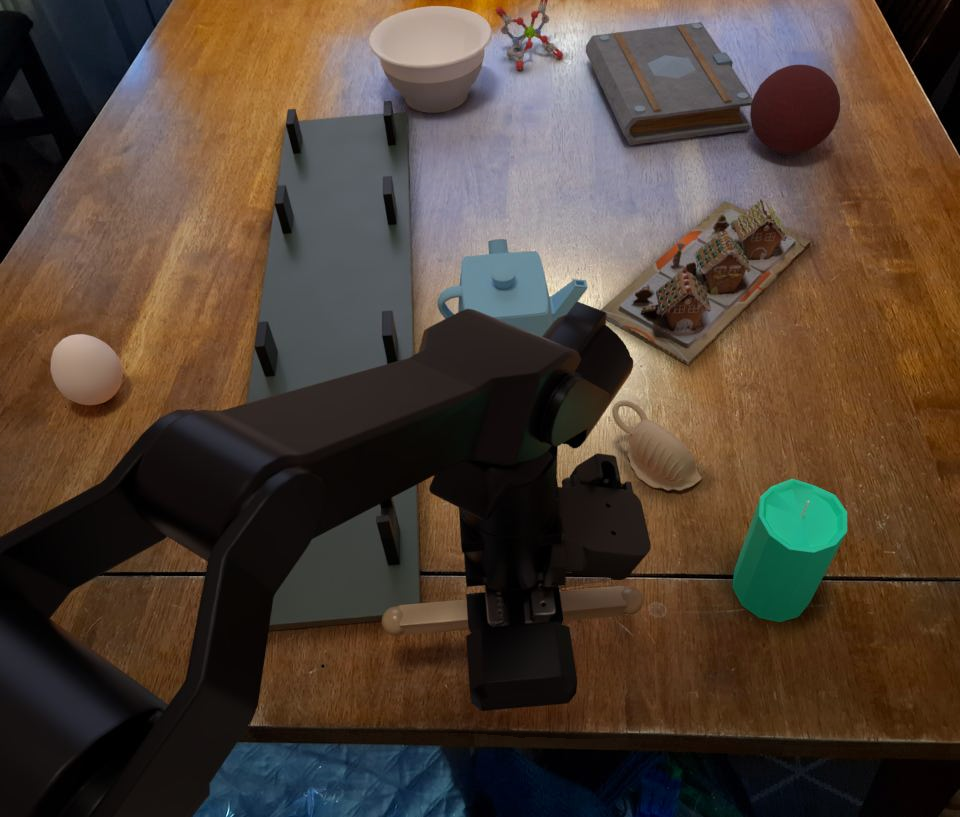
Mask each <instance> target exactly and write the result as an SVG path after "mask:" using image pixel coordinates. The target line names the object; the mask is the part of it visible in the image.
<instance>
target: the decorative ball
mask: <svg viewBox="0 0 960 817" xmlns="http://www.w3.org/2000/svg"><path fill="white" fill-rule="evenodd" d="M752 99H753V101H752V104H751V106H750V113H749V117H750V123H751V124H750V126H751V128H752V130H753V133H754V135H755V137H756V138H757V139H758V140H759V142H760V143H761V144H762V145H763V146H764V147H766V148H767V149H769V150H771V151H773V152H775V153H779V154H784V155H797V154H802V153H805V152H808V151H810V150H812V149H815V148H816V147H817V146H819V145H820V144H822V143H823V142H824V141H825V140H826V139H827V138H828V137H829V136H830V135H831V133H832V132H833V130H834V129H835V127H836V125H837V122H838V121H839V117H840V111H841V97H840V92H839V90H838V87H837V84H836V83H835V82H834V80H833V78H832V77H831V76H830V75H828V74H827V73H826V72H825V71H824V70H822V69H820V68H819V67H816V66H812V65H809V64H791V65H788V66H785V67H782V68H779V69H778V70H777V69H776V71H774V72H772V73H771V74H770V75H768V76H767V77H766V78H765V79H764V80H763V81H762V82H761V84H760V85H759V86H758V88H757V90H756V92H755V93H754V95H753V97H752Z"/></svg>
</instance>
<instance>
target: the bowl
mask: <svg viewBox="0 0 960 817" xmlns="http://www.w3.org/2000/svg"><path fill="white" fill-rule="evenodd" d="M492 35H493V31H492V28H491V25H490V22H488V21H487V19H486V18H485V17H483V16H482V15H480V14H479V13H477V12H474V11H472V10H468V9H465V8H461V7H456V6H445V5H433V6H432V5H429V6H420V7H416V8H415V7H414V8H410V9H406V10H404V11H400V12H397V13H395V14H392V15H390V16H388V17H387V18H385V19H383V20H382V21H380V22H379V23H378V24H377V25H376V26H374V27H373V29H372V31H371V32H370V34H369V38H368V44H369V48H370V50H371V52H372V54H374V55H375V56H376V57H377V58H379V63H380V65H381V68H382V70H383V73H384V75H385V77H386V79H387V80H388V81H389V83H390V84H391V85H392V87H393V89H395V91H397V92H398V93H399V95H401V96H402V97H403V98H404V101H405V104H406V105H407V106H408V107H410V108H411V109H413V110H416V111H417V112H422V113H428V114H429V113H433V114H434V113H443V112H448V111H451V110H454V109H456V108H458V107H459V106H461V105H463V104H464V103H465V102H466V100H467V99H468V97H469V96H468V94H469V92H470V90H471V88H472V87H473V86H474V84H475V82H476V81H477V79H478V76H479V74H480V73H481V70H482V67H483V62H484V58H485V48H486V47H487V46H488V45H489V44H490V41H491V40H492Z"/></svg>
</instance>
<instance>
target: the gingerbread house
mask: <svg viewBox="0 0 960 817" xmlns="http://www.w3.org/2000/svg"><path fill="white" fill-rule="evenodd" d="M811 243H812V240H809V239H808V238H806V237H803V236H801V235H799V234H797V233H794V232H793V231H791V230H789V229H788V228H785V227H784V225H783V224H782V221H781V220H780V218H779V216H778V215H777V214H776V212H775V210H773V208H772V207H771V206H770V205H769V204H768V202H767V201H766V200H765V198H764V197H761V198H760V199H759V201H756V203H755V204H754V205H751V207H750V208H748V210H747V209H743V208H741V207H739V206H737V205H735V204H732V203H730V202H728V201H723V203H722V204H720V205H719V206H718V207H717V208H715V209H714V210H713V211H712V212H711V213H710V214H709V215H707V216H706V218H704V219H702V221H701V222H699V223H698V224H697V225H696V226H695V227H694V228H692V229H691V230H690V231H688V233H686V234H685V235H684V236H683V237H682V238H680V240H678V241H677V242H676V243H675V244H674V245H673V246H672V247H670V248H669V249H668V250H666V252H665V253H663V254H662V255H661V256H660V257H659V258H658V259H656V260H655V261H654V263H652V264H651V265H650V266H649V267H648V268H646V269H645V270H644V271H643V272H642V273H641V274H640V275H639V276H637V277H636V278H635V279H634V280H633V281H632V282H631V283H629V284H628V285H627V286H626V287H625V288H623V290H621V291H620V292H619V293H618V294H616V295H615V297H613V298H612V299H611V300H610V301H609V302H608V303H606V305H604V306H603V307H602V308H601V309H600V310H601V311H604V312H606V313H607V315H606V322H609V323H610V324H612V325H614V326H616V327H618V328H620V329H621V330H623V331H625V332H627V333H628V334H630V335H632V336H634V337H636V338H637V339H639V340H641V341H643V342H645V343H647V344H648V345H650V346H652V347H654V348H655V349H657V350H659V351H661V352H663V353H665V354H666V355H668V356H670V357H671V358H674V359H676V360H677V361H679V362H681V363H682V364H684V365H686V366H691V364H692V363H693V362H694V361H695V360H696V359H697V358H698V357H700V355H701V354H702V353H703V352H704V351H705V350H706V349H707V348H708V347H709V346H710V345H711V344H712V343H713V342H714V341H715V340H716V339H718V337H719V336H721V335H722V333H723V332H725V331H726V329H728V327H729V326H730V325H731V324H732V323H734V322H735V320H737V319H738V318H739V316H741V315H742V313H744V312H745V311H746V309H747V308H749V307H750V306H751V304H753V303H754V302H755V301H756V300H757V299H758V297H759V296H761V295H762V294H763V293H764V292H765V291H766V290H767V289H768V288H769V287H770V285H772V284H773V283H774V282H775V281H776V280H777V279H778V278H780V277H781V275H782V274H783V273H784V272H785V271H786V270H787V269H788V268H789V267H790V266H791V265H792V264H793V263H794V262H795V261H796V260H797V259H798V258H799V257H800V256H801V255H802V254H803V253H804V252H805V251H806V250H807V249H808V248H809V247H810V246H811Z"/></svg>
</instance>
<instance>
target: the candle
mask: <svg viewBox="0 0 960 817" xmlns="http://www.w3.org/2000/svg"><path fill="white" fill-rule="evenodd" d="M847 533H848V511H847V509H846V508H845V507H844V505H843V504H842V503H841V501H840V500H839V498H838V496H837V495H836V494H835V493H832V492H829V491H827V490H826V489H824V488H822V487H819V486H816V485H814V484H811V483H808V482H804V481H801V480H798V479H795V478H790V479H788V480H784V481H782V482H779V483H776V484H773V485H771V486H770V487H769V488H768V489H767V490H766V491H765V492H764V493H763V494H762V495H760V497H759V500H758V502H757V505H756V508H755V511H754V514H753V516H752V519H751V522H750V525H749V527H748V530H747V534H746V536H745V539H744V542H743V544H742V547H741V550H740V553H739V555H738V558H737V560H736V564H735V566H734V569H733V578H732V590H733V592H734V593H735V596H736V597H737V599H738V601H739V603H740V605H741V606H742V607H743V608H744V609H746V610H748V611H749V612H750V613H751V614H753V615H754V616H755V617H757V618H759V619H762V620H767V621H771V622H776V623H783V622H786V621H789V620H792V619H795V618H799V617H800V616H801V615H802V613H803V612H804V611H805V610H806V609H807V607H808V606H809V604H811V601H812V599H813V597H814V596H815V593H816V592H817V590H818V588H819V586H820V585H821V582H822V581H823V579H824V577H825V574H826V573H827V571H828V569H829V567H830V565H831V564H832V561H833V559H834V557H835V555H836V554H837V552H838V550H839V548H840V547H841V545H842V542H843V540H844V539H845V536H847Z"/></svg>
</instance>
